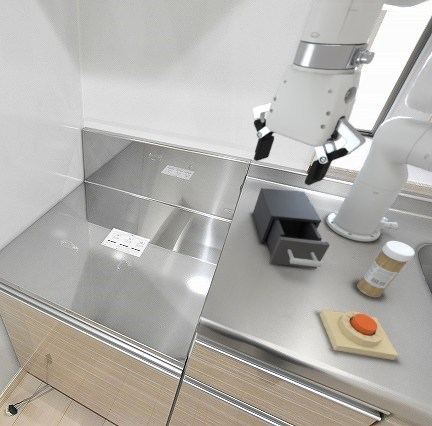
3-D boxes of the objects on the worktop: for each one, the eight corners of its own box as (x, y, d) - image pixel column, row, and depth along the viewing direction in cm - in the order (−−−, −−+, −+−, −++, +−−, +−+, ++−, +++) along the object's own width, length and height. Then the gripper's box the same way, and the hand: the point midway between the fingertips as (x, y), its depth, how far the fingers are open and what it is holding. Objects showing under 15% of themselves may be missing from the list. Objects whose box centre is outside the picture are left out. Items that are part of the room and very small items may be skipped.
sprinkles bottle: (383, 292, 67) (419, 249, 59) (374, 301, 65) (410, 258, 57) (361, 279, 70) (392, 236, 62) (352, 288, 68) (382, 245, 60)
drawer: (322, 281, 68) (337, 258, 64) (274, 275, 70) (285, 252, 65) (300, 235, 81) (311, 213, 77) (261, 231, 83) (269, 209, 78)
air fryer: (307, 248, 78) (321, 220, 73) (260, 243, 80) (271, 215, 75) (292, 218, 89) (304, 191, 83) (252, 214, 91) (260, 188, 85)
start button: (367, 320, 58) (371, 315, 57) (376, 337, 55) (381, 331, 54) (347, 317, 58) (351, 312, 57) (355, 333, 55) (359, 328, 54)
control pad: (372, 322, 61) (381, 312, 59) (393, 360, 54) (404, 350, 52) (319, 314, 62) (326, 304, 60) (333, 350, 56) (342, 340, 54)
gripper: (418, 63, 35) (351, 187, 45) (286, 47, 47) (257, 147, 57) (384, 71, 32) (321, 200, 42) (254, 51, 44) (229, 155, 54)
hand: (284, 169), depth 50 cm, fingers open, 9 cm apart
